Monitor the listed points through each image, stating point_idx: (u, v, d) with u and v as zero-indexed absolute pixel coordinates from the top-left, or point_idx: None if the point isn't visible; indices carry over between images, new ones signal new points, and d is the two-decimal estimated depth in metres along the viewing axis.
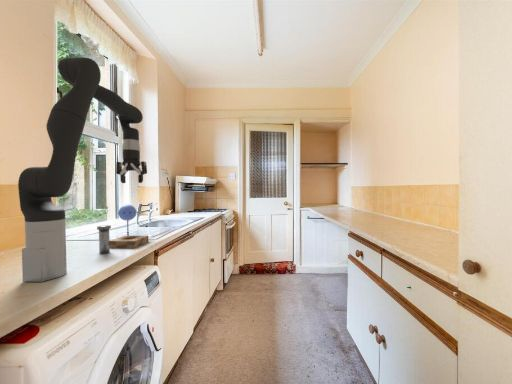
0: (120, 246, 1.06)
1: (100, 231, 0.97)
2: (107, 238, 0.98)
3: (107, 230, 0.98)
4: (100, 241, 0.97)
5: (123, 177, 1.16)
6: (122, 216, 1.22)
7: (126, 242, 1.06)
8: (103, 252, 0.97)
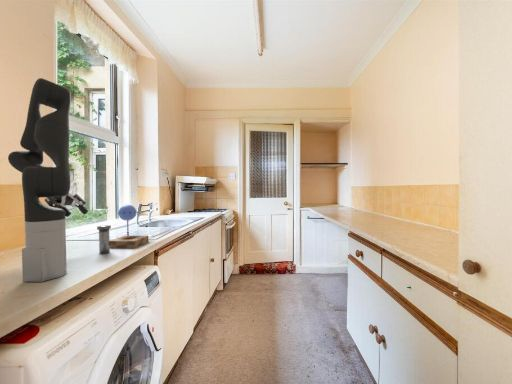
0: (120, 246, 1.06)
1: (100, 231, 0.97)
2: (107, 238, 0.98)
3: (107, 230, 0.98)
4: (100, 241, 0.97)
5: None
6: (122, 216, 1.22)
7: (126, 242, 1.06)
8: (103, 252, 0.97)
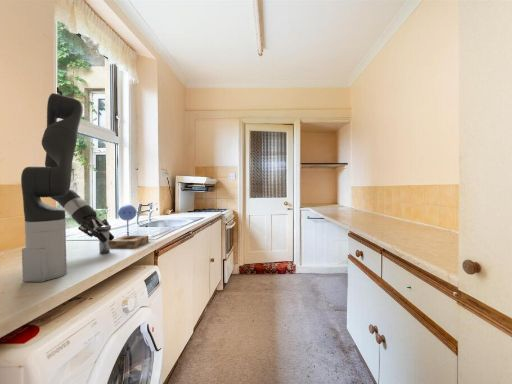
0: (120, 246, 1.06)
1: (100, 231, 0.97)
2: (107, 238, 0.98)
3: (107, 230, 0.98)
4: (100, 241, 0.97)
5: None
6: (122, 216, 1.22)
7: (126, 242, 1.06)
8: (103, 252, 0.97)
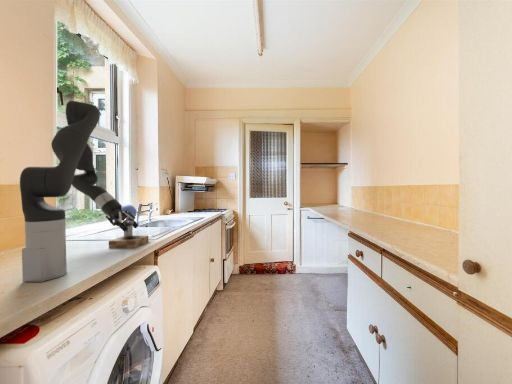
0: (120, 246, 1.06)
1: None
2: (131, 232, 1.11)
3: (131, 225, 1.12)
4: (125, 234, 1.10)
5: None
6: None
7: (126, 242, 1.06)
8: None
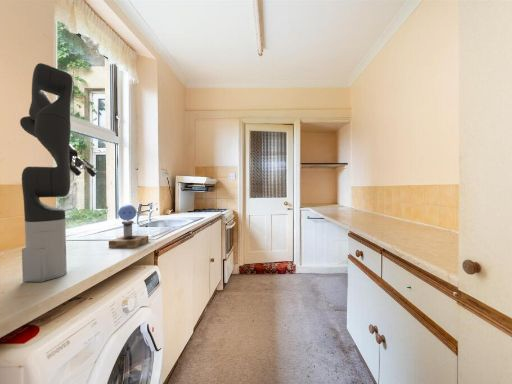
0: (120, 246, 1.06)
1: (125, 225, 1.10)
2: (130, 232, 1.11)
3: (130, 225, 1.11)
4: (124, 234, 1.10)
5: None
6: (122, 216, 1.22)
7: (126, 242, 1.06)
8: None
